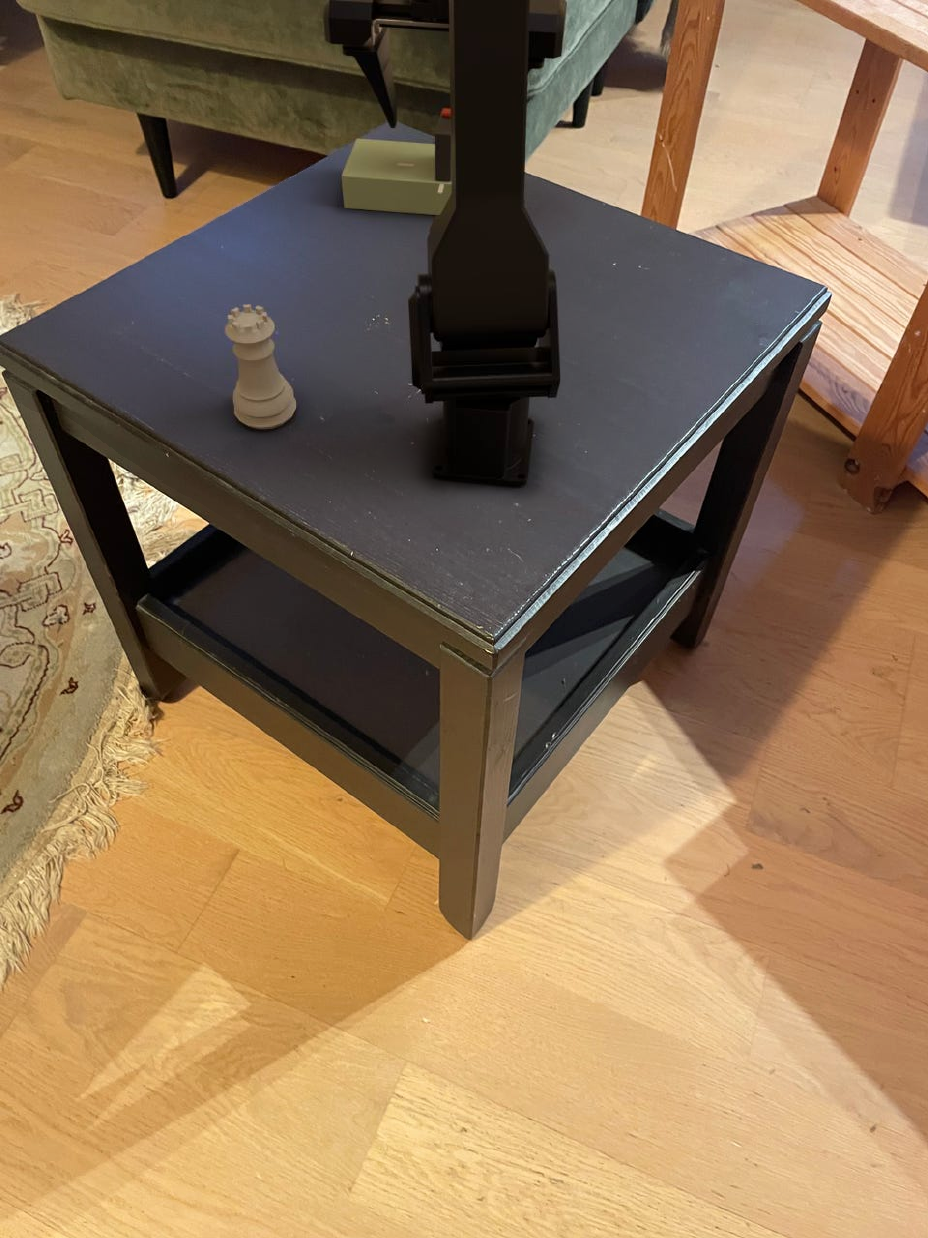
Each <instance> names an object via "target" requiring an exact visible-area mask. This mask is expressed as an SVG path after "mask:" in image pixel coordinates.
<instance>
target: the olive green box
mask: <svg viewBox="0 0 928 1238" xmlns="http://www.w3.org/2000/svg"><path fill="white" fill-rule="evenodd" d="M341 185H342V196H343V207H344V209H354V210H367V211H369V210H370V211H378V212H379V211H380V212H390V213H391V212H392V213H403V214H404V213H407V214H419V215H431V216H437V215H440V214H441V212H442V210H443V208H444V206H445V205H446V203H447V201H448V199H449V197H450V196H451V193H452V183H451V181H438V180H435V143H423V142H408V141H395V140H383V139H382V140H381V139H371V138H370V139H369V138H356V139H355V141H354V144H353V146H352V149H351V151H350V154H349V156H348V158H347V160H346V163H345V166H344V169H343V171H342V174H341Z"/></svg>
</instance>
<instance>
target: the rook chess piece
mask: <svg viewBox="0 0 928 1238" xmlns="http://www.w3.org/2000/svg"><path fill="white" fill-rule="evenodd" d="M230 313H231V314H228V315H227V321H228V322H227V324H225V326H224V334H225V335H226V337H227V338H228V339H229V340H230V341H232V342H233V343H234V344H233V345H232V353H233V355H235V357H236V359H237V364H238V379H237V380H236V382H235V387H234V390H233V391H232V404H233V414H234V415H235V417H236V418H237V419H238V421H239V422H241V423H242V424H244V425H246V426H248V427H249V428H251V429H256V430H261V431H262V430H273V429H276V428H278V427H281V426H283V425H284V424H285V423H287V422H288V421H289V420H290V419H291V418H292V417H293V415H294V413H295V411H296V408H297V401H296V398H295V397H294V396H295V395H294V389H293V388H292V385H291V384H290V383H289V382H288V381H287V379H286V378H285V377H284V376H283V374H282V373H280V371H279V369H278V365H277V363H276V362H277V361H276V359H275V357H274V351H275V342H274V341H273V340H272V338H271V336H272V335H273V333H274V331H275V330H276V328H275V327H276V326H275V321H273V320H272V318H270V317H269V316H268V313H267V311H264V307H262V306H261V305H256V306H255V310H254V309H253V308H252V304H250V303H249V304H247V303H246V304H243V311H240V309H239V308H238V307H237V306H236V307H234V308H233V309H231V310H230Z"/></svg>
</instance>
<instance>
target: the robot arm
mask: <svg viewBox="0 0 928 1238" xmlns="http://www.w3.org/2000/svg"><path fill="white" fill-rule="evenodd" d="M567 9H568V2H567V0H326V2H325V3H324V5H323V13H322V14H323V15H322V20H323V21H322V22H323V32H324V41H325V42H327V43H328V44H330V45H339V46H340V45H341V52H342V55H343V56H345V57H352V58H353V59H355V61H356V63H357V64H358V66H359V68H360V70H361V71H362V73H363V74H364V76H365V79H367V81H368V83H369V85H370V87H371V89H372V90H373V92H374V95H375V97H376V100H377V102H378V103H379V105H380V108H381V110H382V112H383V115H384V117H385V119H386V122H387V123H388V126H389V128H390V129H396V127H397V124H398V107H397V106H398V105H397V96H396V88H395V81H394V73H393V64H392V56H391V37H390V36H391V35H390V34H391V32H390V30H391V29H401V30H402V29H403V30H417V31H432V32H448V33H449V34H448V36H449V38H448V41H449V107H450V108H449V109H450V114H451V183H452V193H451V196H450V197H449V199H448V201H447V203H446V205H445V206H444V208H443V210H442V212H441V214H440V215H435V217H434V219H433V222H432V224H431V226H430V228H429V234H428V236H427V241H426V243H427V244H426V245H427V273H417V285H415V286H414V291H413V293H412V294H411V296H409V297H408V299H407V307H408V327H409V328H408V329H409V345H410V367H411V385H412V386H413V387H415V388H416V389H418V390H420V392H421V395H423V396H424V404H426V405H427V404H434V403H435V402H436V403H438V402H439V403H440V402H442V418H441V422H440V428H439V432H438V437H437V442H436V446H435V452H434V455H433V456H434V457H433V461H432V467H431V475H432V476H433V477H434V478H436V479H442V480H443V479H445V480H455V481H464V482H465V481H466V482H476V483H484V484H485V483H486V484H496V485H506V486H517V487H523V486H526V485H527V484H528V481H529V480H528V479H529V473H530V471H529V470H530V462H531V453H532V452H531V451H532V444H533V435H534V425H535V422H534V420H533V419H531V418H529V412H530V411H529V410H530V400H531V398H547V399H556V398H557V396H558V392H559V388H560V384H561V358H560V332H559V311H558V310H559V308H558V304H559V303H558V285H557V277H556V273H555V270H554V269H553V268H550V255H549V251H548V250H547V247H546V245H545V243H544V241H543V240H542V238H541V235H540V233H539V232H538V230H537V227H536V226H535V224H534V222H533V220H532V218H531V217H530V215H529V212H528V210H527V209H526V207H525V179H526V177H525V173H526V146H527V145H526V142H527V110H528V109H527V107H528V79H529V78H528V77H529V73H530V72H531V71H532V70H540V69H543V68H544V67H545V64H546V63H545V62H546V59H548V60H549V59H550V60H555V59H558V58H561V57H562V55H563V47H564V39H565V33H566V32H565V31H566V19H567ZM432 335H433V339H434V340H435V342H436V343H438V344H439V349H440V350H432ZM537 343H538V344H537Z"/></svg>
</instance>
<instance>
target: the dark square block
mask: <svg viewBox="0 0 928 1238" xmlns="http://www.w3.org/2000/svg"><path fill="white" fill-rule="evenodd" d="M434 144H435V180H438V181H451V114H450V108H446V107H445V108H442V110H441V111H440V115H439V118H438V122H437V124H436V129H435V131H434Z"/></svg>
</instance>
